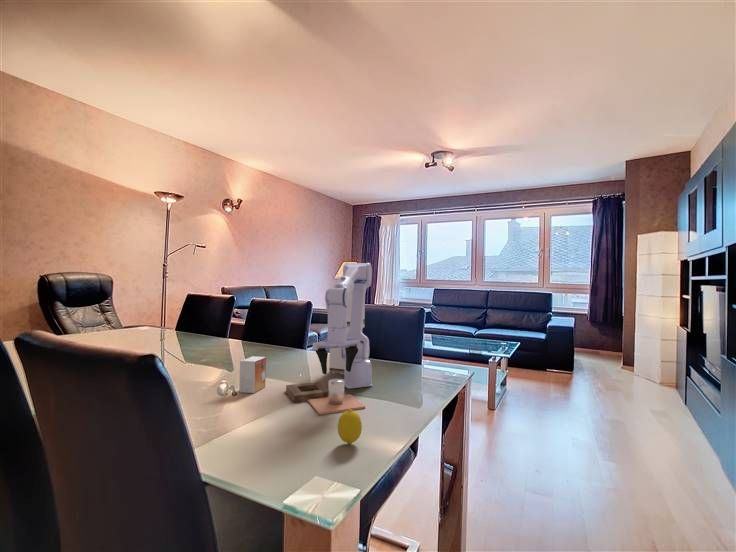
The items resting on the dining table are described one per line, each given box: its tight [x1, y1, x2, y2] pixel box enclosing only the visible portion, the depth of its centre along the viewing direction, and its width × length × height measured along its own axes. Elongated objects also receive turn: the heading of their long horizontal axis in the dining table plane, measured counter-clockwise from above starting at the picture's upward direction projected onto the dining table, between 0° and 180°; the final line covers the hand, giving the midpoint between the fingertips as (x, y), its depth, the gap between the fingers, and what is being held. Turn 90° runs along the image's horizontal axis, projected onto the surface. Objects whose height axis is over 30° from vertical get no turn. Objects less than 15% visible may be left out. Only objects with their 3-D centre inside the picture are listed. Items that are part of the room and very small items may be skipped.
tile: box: [307, 394, 366, 416], centre depth 109 cm, size 14×12×1 cm
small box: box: [238, 355, 267, 394], centre depth 124 cm, size 8×6×10 cm
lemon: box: [337, 409, 363, 445], centre depth 83 cm, size 6×6×8 cm
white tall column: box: [328, 285, 366, 375], centre depth 151 cm, size 11×11×35 cm
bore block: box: [285, 381, 328, 403], centre depth 119 cm, size 12×12×2 cm
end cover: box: [327, 378, 345, 405], centre depth 110 cm, size 5×5×6 cm
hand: (336, 372), depth 110 cm, fingers open, 7 cm apart
